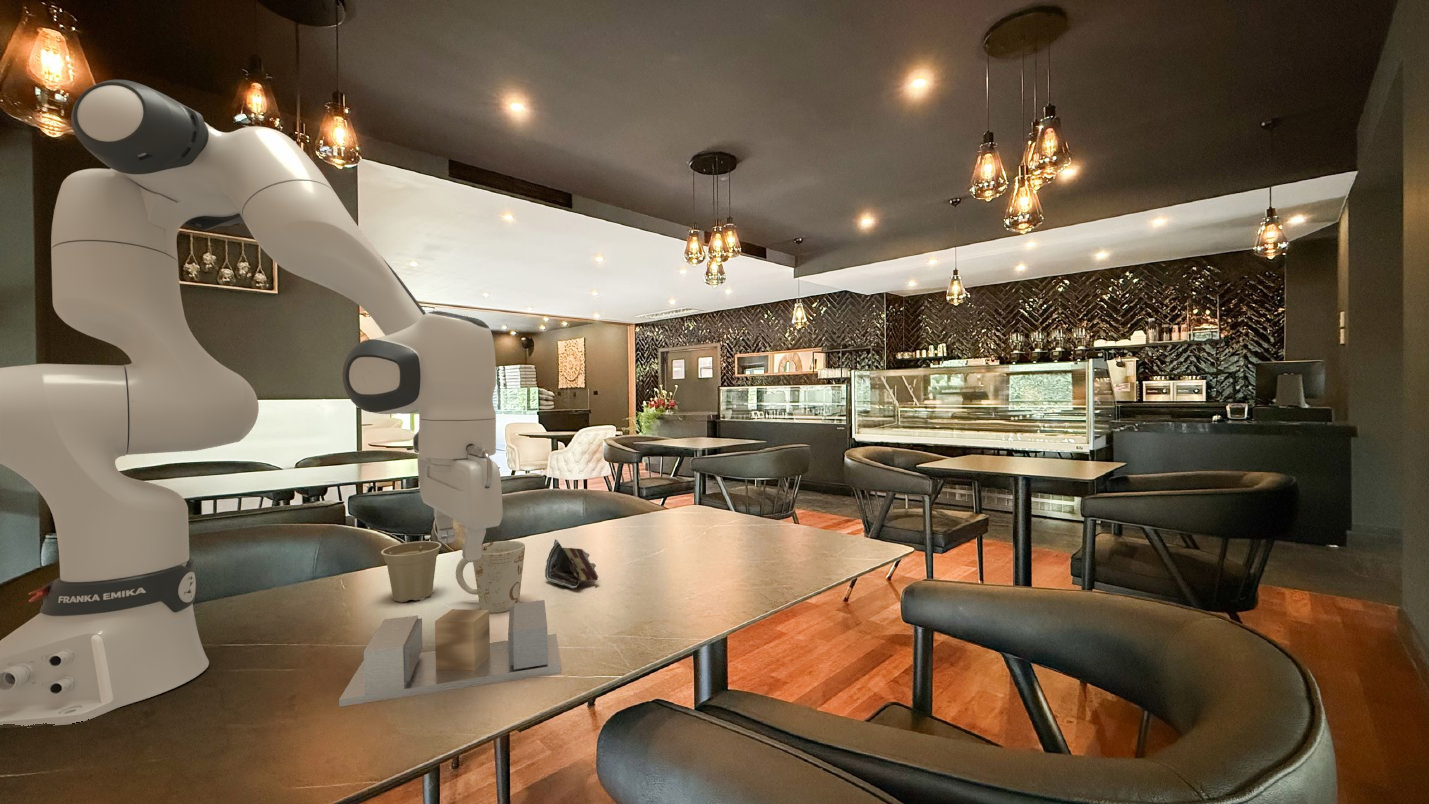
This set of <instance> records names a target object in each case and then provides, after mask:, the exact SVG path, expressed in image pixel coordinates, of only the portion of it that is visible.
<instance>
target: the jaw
mask: <svg viewBox="0 0 1429 804" xmlns="http://www.w3.org/2000/svg"><path fill="white" fill-rule="evenodd" d="M545 603H546V601H545V599H540V600H531V601H526V602H519V603H516V604H514V607H510V610H509V614H508V615H509V616H508V627H507V628H508V631H507V639H508V640H507V641H508V652H509V666H510V665H514V669H520V668H527V667H533V666H540V665H546V664H548V638H547V635H548V620H547V611H546V610H547V609H546V604H545Z"/></svg>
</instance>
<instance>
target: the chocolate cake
mask: <svg viewBox="0 0 1429 804" xmlns="http://www.w3.org/2000/svg"><path fill="white" fill-rule="evenodd" d="M590 555H591V554H590V553H588V552H586V551H585V549H583V548H573V547H563V546H562V545H561V543H560V542H559V541H558V539H556V538H555V539H554V541H553V546H552V548H551V549H550V551H549V553H548V556H547V559H546V565H545V569H544V577H545V579H546V580H547V581H548V582H551V583H556V584H558V585H561V586H565V587H568V588H570V589H575V588H577V587H578V586H579V585H580V584H581V583H582V582H584V581H587V582H588V581H597V580H598V578H599V576H598V574H597V571H596V567H597V565H596V564H595V563H594V562H590V560H589V558H590Z"/></svg>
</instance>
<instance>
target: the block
mask: <svg viewBox="0 0 1429 804" xmlns="http://www.w3.org/2000/svg"><path fill="white" fill-rule="evenodd" d="M490 633H491V632H490V613H489V610H481V609H466V608H465V609H463V608H462V609H459V608H458V609H456V608H452V609H450V610H449V611H448V612H446V613H444V614H443V615H441V616H440V617H439V618H437V619H436V620H434V641H435V642H434V644H435V648H434V649H435V650H434V651H435V653H436V669H439V670H476V669H477V668H478V667H479V666H480V665H481V664H482V663H483V662H484V661H485V660H486V659H487V658H488V657H489V656H490V643H491V641H490V640H491V638H490V636H491V635H490Z"/></svg>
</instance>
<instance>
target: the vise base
mask: <svg viewBox="0 0 1429 804" xmlns="http://www.w3.org/2000/svg"><path fill="white" fill-rule="evenodd" d="M547 638H548V664H546V665H540V666H533V667H527V668H520V669H514V665H510V666H509V652H508V640H503V641H495V642H490V656H489V657H488V658H487V659H486V660H485V661H484V662H483V663H482V664H481V665H480V666H479V667H478V668H477V669H476V670H439V669H436V653H435V650H431V651H424V652H422V651H423V649H424V648H423V618H422V617H421V618H419V615H410V616H409V615H408V616H402V617H395V618H386V619H383V621H382V622H381V624H380V625H379V627H378V628H377V629H376V632H375V633H374V634H373V636H372V637H371V640H370V641H369V643H368V644H367V646H366V647H365V649H364V650H363V661H362V662H361V663H360V665H359V666H358V668H357V670H356V671H355V673H354V675H353V676H352V678H351V680H350V681H349V683H348V685H347V686H346V688H345V689H344V691H343V692H342V694H341V696H340V697H339V698H338V704H339V705H338V707H345V706H347V707H348V706H354V705H361V704H368V703H374V702H380V701H387V700H393V699H399V698H406V697H412V696H420V695H425V694H426V695H427V694H431V693H440V692H444V691H445V692H446V691H451V690H458V689H465V688H466V689H467V688H472V687H478V686H479V687H480V686H485V685H492V684H498V683H505V682H511V681H519V680H525V679H532V678H537V677H538V678H539V677H545V676H550V675H551V676H553V675H557V674H561V668H562V667H561V665H562V664H561V659H560V652H559V651H560V650H559V645H558V638H557V633H552V634H547Z"/></svg>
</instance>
